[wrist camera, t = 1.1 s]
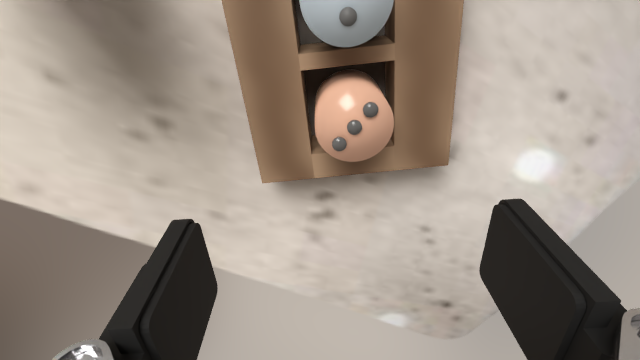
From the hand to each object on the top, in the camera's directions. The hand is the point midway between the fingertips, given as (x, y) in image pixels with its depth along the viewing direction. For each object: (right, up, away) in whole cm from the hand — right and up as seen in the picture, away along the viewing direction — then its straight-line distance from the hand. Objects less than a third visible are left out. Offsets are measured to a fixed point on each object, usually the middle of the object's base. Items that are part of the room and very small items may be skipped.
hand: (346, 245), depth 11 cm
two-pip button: (0, +14, +10) cm, 17 cm away
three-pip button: (+1, +8, +14) cm, 16 cm away
